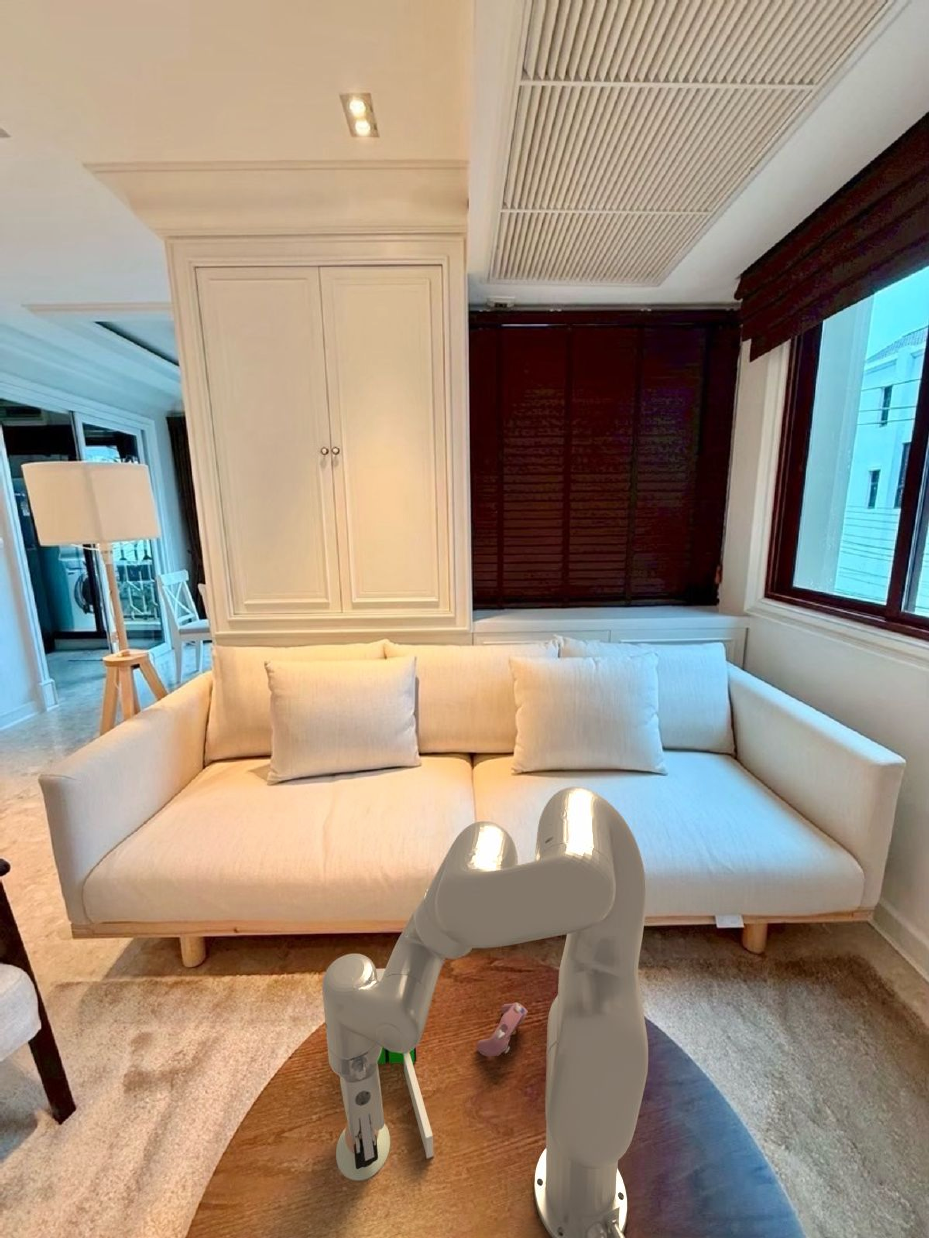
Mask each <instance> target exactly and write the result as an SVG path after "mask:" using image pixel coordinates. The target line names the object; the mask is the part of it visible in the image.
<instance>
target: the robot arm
mask: <svg viewBox="0 0 929 1238" xmlns="http://www.w3.org/2000/svg"><path fill="white" fill-rule="evenodd" d="M539 817H540V818H539V821H538V826H537V833H536V835H537V836H536V843H535V852H534V861H530V862H526V863H522V864H518V863H519V860H518V859H519V858H518V851H517V847H516V844H515V842H514V840H513V838H512V836H511V835H510V833H509V832H508V831H507V830H506V829H505V828H503V827H502V826H501V825H499V824H497V823H495V822H492V821H485V820H482V821H477V822H473V823H472V824H469V825H468V826H466V827H465V828H464V829H463V830H462V831H461V832H460V833H459V834H458V835H457V837H456V838H455V840H454V841H453V843H452V844H451V846H450V847H449V849H448V852H447V853H446V855H445V857H444V858H443V860H442V862H441V863H440V866H439V868H438V869H437V871H436V873H435V874H434V876H433V879H432V881H431V882H430V884H429V886H428V888H427V889H426V891H425V893H424V895H423V897H422V899H421V901H420V902H419V904H418V905H417V906H416V908H415V909H414V910H413V912H412V914H411V916H410V918H409V919H408V921H407V923H406V925H405V926H404V928H403V930H402V932H401V934H400V936H399V937H398V940H397V941H396V943H395V945H394V948H393V950H392V952H391V955H390V957H389V959H388V962H387V964H386V966H385V968H386V969H385V972H384V974H383V977H382V979H381V981H378V979H377V972H376V969H377V968H376V966H375V963H373V961H372V960H371V959H370V958H369V957H367V956H366V955H364V954H361V953H348V954H345V955H343V956H340V957H338V958H337V959H335V960H334V961H333V962H332V963H331V964H330V965H329V966H328V967H327V969H326V971H325V973H324V975H323V977H322V983H321V991H322V1001H323V1002H322V1003H323V1014H324V1023H325V1032H326V1033H325V1035H326V1044H327V1045H326V1046H327V1053H328V1054H327V1055H328V1063H329V1066H330V1069H331V1070H332V1071H333V1072H334V1073H335V1074H336V1075H337V1076H339V1081H340V1089H341V1096H342V1101H343V1107H344V1112H345V1116H346V1121H347V1123H348V1127H349V1131H350V1136H351V1138H352V1139H353V1140H355V1144H354V1154H355V1165H356V1169H359V1168H362V1167H367V1166H369V1165H371V1164H372V1163H373V1162H374V1161H376V1160H377V1159H378V1150H377V1138H376V1135H375V1130H376V1131H378V1130H380V1129H382V1128H383V1126H384V1123H385V1116H384V1106H383V1097H382V1089H381V1079H380V1070H379V1065H378V1063H377V1061H378V1059H379V1057H380V1055H381V1051H382V1047H384V1048H385V1049H387V1050H389V1051H391V1052H397V1053H407V1052H410V1051H412V1050H413V1049H414V1048H415V1047H416V1046H417V1045H418V1046H419V1043H420V1042H421V1039H422V1037H423V1033H424V1030H425V1026H426V1023H427V1019H428V1016H429V1011H430V1009H431V1004H432V999H433V996H434V992H435V989H436V985H437V981H438V979H439V975H440V972H441V969H442V967H443V965H444V963H445V961H446V959H452V960H453V959H459V958H462V957H464V956H466V955H468V954H469V953H470V952H471V951H472V949H490V948H500V947H506V946H512V945H517V944H523V943H529V942H533V941H537V940H542V939H543V940H544V939H547V938H554V937H558V936H559V937H560V936H564V935H566V939H565V944H564V948H563V953H562V956H561V960H560V961H561V962H560V964H559V965H560V966H559V972H558V985H557V986H558V988H557V989H558V993H557V996H556V997H555V999H554V1000H553V1001H552V1004H551V1007H550V1010H549V1012H548V1018H547V1026H546V1027H547V1028H546V1030H547V1032H546V1059H545V1060H546V1071H545V1072H546V1073H545V1105H544V1107H545V1121H546V1124H545V1125H546V1128H545V1134H546V1135H545V1137H546V1138H545V1149H543V1151H542V1153H541V1154H540V1156H539V1158H538V1160H537V1163H536V1167H535V1171H534V1180H533V1183H534V1186H533V1189H534V1192H533V1193H534V1199H535V1203H536V1204H535V1205H536V1208H537V1212H538V1215H539V1217H540V1219H541V1222H542V1223H543V1225H544V1228H545V1229H546V1230H547V1232H548V1233H549V1236H551V1238H626V1237H625V1235H624V1232H625V1229H626V1224H627V1217H628V1198H627V1197H628V1196H627V1191H626V1187H625V1184H624V1179H623V1177H622V1175H621V1172H620V1171H619V1168H618V1163H619V1160H620V1159H621V1158H623V1156H624V1155H625V1154H626V1152H627V1150H628V1149H629V1147H630V1145H631V1143H632V1140H633V1138H634V1134H635V1131H636V1127H637V1123H638V1118H639V1114H640V1109H641V1106H642V1105H641V1104H642V1100H643V1096H644V1091H645V1086H646V1081H647V1077H648V1069H649V1067H648V1066H649V1042H648V1034H647V1033H648V1032H647V1027H646V1020H645V1013H644V1007H643V1006H644V1005H643V1000H642V998H643V997H642V993H641V986H640V981H639V962H640V955H641V948H642V942H643V935H644V934H643V933H644V926H645V919H646V912H647V897H648V895H647V883H646V873H645V866H644V864H643V863H644V862H643V858H642V855H641V851H640V848H639V846H638V843H637V840H636V838H635V835H634V834H633V832H632V830H631V828H630V827H629V825H628V823H627V821H626V820H625V819H624V817H623V815H622V814H621V813H620V812H619V811H618V810H617V809H616V808H615V807H614V806H613V805H612V804H611V803H610V802H609V801H608V800H607V799H605V798H604V797H602V796H601V795H599V794H598V793H596V792H594V791H591V790H589V789H587V788H584V787H579V786H569V787H565V788H564V789H563V788H562V789H560V790H558V791H557V792H556V793H555V794H553V795H552V796H551V797H550V799H549V800H548V801H547V802H546V804H545V806H544V808H543V810H542V811H541V814H540V816H539ZM360 1133H362V1138H361V1139H359V1134H360Z"/></svg>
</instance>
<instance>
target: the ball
mask: <svg viewBox="0 0 929 1238" xmlns="http://www.w3.org/2000/svg"><path fill="white" fill-rule="evenodd" d="M345 1128H346V1130H345V1140H346V1144H347V1147H348V1148H349V1150H350V1151H351V1152H352V1153H354V1144H355V1140H353V1139H352V1138H351V1136H350V1131H349V1127H348V1122H347V1123H346V1125H345ZM378 1134H379V1130H378V1131H376V1130H375V1135H376V1138H377V1139H378ZM361 1138H362V1133H360V1134H359V1139H361Z"/></svg>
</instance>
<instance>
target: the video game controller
mask: <svg viewBox="0 0 929 1238" xmlns="http://www.w3.org/2000/svg"><path fill="white" fill-rule="evenodd" d="M501 1013H502V1014H503V1015H502V1016H501V1018H500V1021H499V1024H498V1026H497V1027H496V1028H495V1030H494V1032H493V1033H492V1036H490V1037H489V1038H486V1039H480V1040H479V1041H477V1042H476V1049H477V1051H478V1052H479V1053H480V1054H481V1055H483V1056H484V1057H490V1058H492V1057H495V1056H496V1057H499V1056H500V1055H501V1054H502V1053H503V1052H504V1054H507V1053H508V1052H509V1051H510V1046H509V1043H510V1039H511V1036H512V1035H515V1034H516V1033H517V1031H516V1029H518V1027H519V1026H520V1024H522V1023H523V1021H524V1019H525V1018H526V1015H527V1014H528V1009H527V1008H525V1006H523V1004H521V1003H519V1002H513V1003H504V1004H503V1005H502V1006H501Z"/></svg>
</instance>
